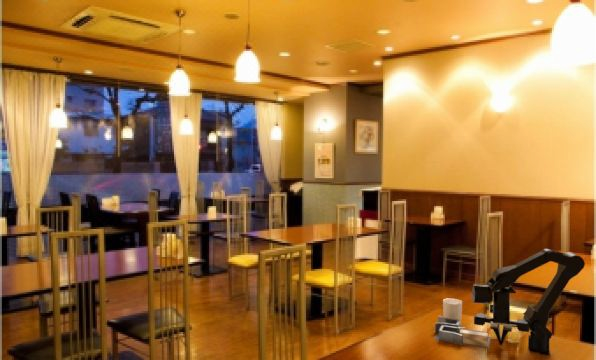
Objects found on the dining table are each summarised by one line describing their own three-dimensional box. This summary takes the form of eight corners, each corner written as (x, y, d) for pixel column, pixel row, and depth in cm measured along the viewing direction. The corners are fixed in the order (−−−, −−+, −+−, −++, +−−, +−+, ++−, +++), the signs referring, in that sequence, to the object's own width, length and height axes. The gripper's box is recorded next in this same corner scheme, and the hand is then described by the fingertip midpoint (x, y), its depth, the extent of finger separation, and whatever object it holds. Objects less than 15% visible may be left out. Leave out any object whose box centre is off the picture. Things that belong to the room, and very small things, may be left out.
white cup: (458, 328, 192) (458, 305, 192) (440, 324, 197) (440, 301, 197) (464, 323, 199) (464, 300, 198) (446, 319, 203) (446, 297, 203)
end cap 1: (434, 332, 187) (434, 323, 186) (438, 325, 195) (438, 315, 195) (457, 336, 183) (457, 326, 183) (460, 328, 191) (460, 318, 191)
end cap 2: (465, 337, 182) (465, 327, 182) (462, 346, 173) (462, 335, 173) (442, 333, 186) (442, 323, 186) (438, 342, 177) (438, 331, 177)
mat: (491, 333, 186) (491, 332, 186) (488, 349, 171) (488, 348, 171) (440, 326, 195) (440, 325, 195) (433, 340, 180) (433, 339, 180)
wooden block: (488, 343, 175) (488, 333, 175) (487, 346, 172) (487, 336, 172) (460, 339, 180) (460, 329, 180) (459, 342, 177) (459, 332, 177)
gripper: (529, 301, 174) (528, 341, 175) (476, 294, 182) (476, 333, 183) (529, 309, 164) (528, 352, 165) (474, 302, 172) (473, 343, 173)
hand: (500, 344), depth 172 cm, fingers closed
